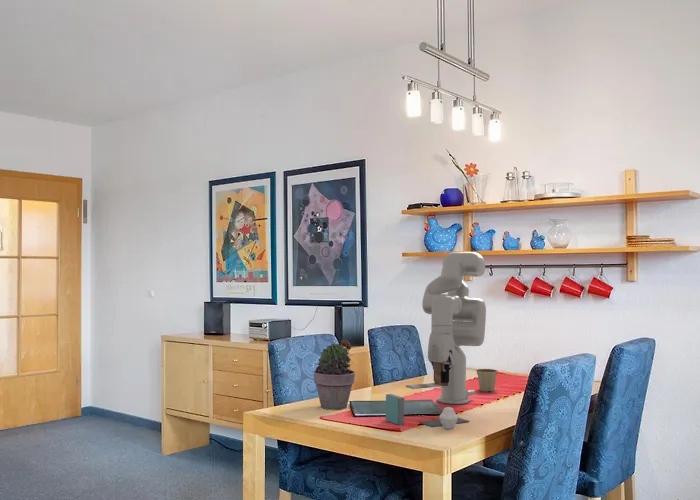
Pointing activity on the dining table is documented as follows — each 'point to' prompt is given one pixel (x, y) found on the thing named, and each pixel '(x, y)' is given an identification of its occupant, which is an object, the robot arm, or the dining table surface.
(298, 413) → the dining table surface
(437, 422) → the mat
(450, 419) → the muffin
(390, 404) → the tile
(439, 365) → the turner
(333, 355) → the potted plant
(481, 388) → the flower pot
